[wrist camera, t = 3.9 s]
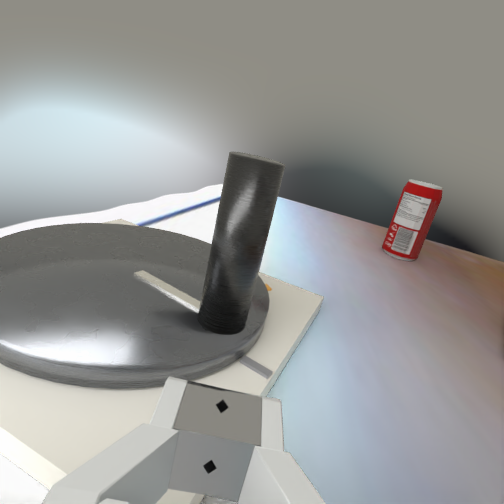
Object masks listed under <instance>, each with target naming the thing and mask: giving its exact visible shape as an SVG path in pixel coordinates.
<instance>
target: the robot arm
mask: <svg viewBox="0 0 504 504" xmlns="http://www.w3.org/2000/svg"><path fill="white" fill-rule="evenodd" d="M168 489H172V490H178V491H184V492H190V493H197V494H203V495H207V496H211V497H216V498H220V499H225V500H229V501H233V502H238V504H326V503H325V502H324V500H323V499H322V498H321V496H320V495H319V493H318V492H317V490H316V489H315V488H314V486H313V485H312V483H311V482H310V481H309V479H308V478H307V476H306V475H305V473H304V472H303V471H302V469H301V468H300V466H299V465H298V464H297V462H296V461H295V459H294V458H293V456H292V455H291V454H290V453H289V452H284V440H283V422H282V404H281V401H280V399H276V398H271V397H265V396H258V395H253V394H248V393H243V392H238V391H233V390H228V389H223V388H219V387H215V386H210V385H206V384H202V383H198V382H193V381H189V380H188V381H187V380H183V379H179V378H174V377H170V376H169V377H168V379H167V380H166V382H165V385H164V387H163V390H162V393H161V395H160V398H159V400H158V403H157V405H156V408H155V411H154V413H153V416H152V418H151V421H150V423H149V424H145V423H143V424H141V425H140V426H138V427H137V428H135V429H134V430H133V431H131V432H130V433H128V434H127V435H125V436H124V437H122V438H121V439H119V440H118V441H116V442H115V443H114V444H112V445H111V446H109V447H108V448H106V449H105V450H103V451H102V452H100V453H99V454H97V455H96V456H94V457H93V458H92V459H90V460H89V461H87V462H86V463H84V464H83V465H81V466H80V467H78V468H77V469H75V470H74V471H73V472H71V473H70V474H68V475H67V476H65V477H64V478H62V479H61V480H59V481H58V482H56V483H55V484H54V485H52V487H51V489H50V490H49V492H48V494H47V495H46V497H45V499H44V500H43V502H42V504H156V503H157V502H158V501H159V500H160V498H161V497H162V496H163V495H164V494H165V493H166V492H167V490H168Z"/></svg>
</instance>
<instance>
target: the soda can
mask: <svg viewBox="0 0 504 504" xmlns="http://www.w3.org/2000/svg"><path fill="white" fill-rule="evenodd" d="M442 189H443V188H442V187H439V186H436V185H433V184H429V183H425V182H421V181H416V180H411V179H410V180H409V181H408V183H407V184H406V186H405V187H404V189H403V191H402V194H401V197H400V199H399V202H398V205H397V207H396V210H395V213H394V216H393V219H392V221H391V224H390V227H389V229H388V232H387V235H386V237H385V240H384V243H383V246H382V248H383V249H384V252H385V253H387V254H388V255H390V256H392V257H395V258H398V259H401V260H405V261H413V260H414V259H417V258H418V255H419V253H420V250H421V248H422V245H423V243H424V240H425V238H426V235H427V233H428V231H429V228H430V226H431V223H432V221H433V218H434V216H435V213H436V211H437V209H438V206H439V204H440V201H441V198H442Z"/></svg>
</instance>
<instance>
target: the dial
mask: <svg viewBox="0 0 504 504" xmlns="http://www.w3.org/2000/svg"><path fill="white" fill-rule="evenodd" d="M284 168H285V164H283V163H281V162H278V161H275V160H272V159H268V158H264V157H260V156H255V155H251V154H246V153H240V152H230V153H229V158H228V163H227V168H226V173H225V178H224V184H223V189H222V194H221V199H220V204H219V209H218V214H217V220H216V225H215V230H214V235H213V240H212V244H209V243H207V242H204V241H201V240H198V239H195V238H192V237H189V236H185V235H182V234H178V233H174V232H170V231H165V230H160V229H155V228H149V227H142V226H134V225H124V224H109V223H78V224H63V225H53V226H46V227H40V228H34V229H30V230H25V231H21V232H17V233H14V234H11V235H7V236H4V237H2V238H0V363H1V364H2V365H4V366H6V367H9V368H11V369H14V370H16V371H19V372H22V373H24V374H27V375H29V376H33V377H37V378H41V379H44V380H48V381H52V382H56V383H62V384H69V385H75V386H82V387H93V388H109V389H125V388H146V387H155V386H163V385H165V382H166V380H167V379H168V377H169V376H170V377H174V378H179V379H183V380H187V381H188V380H193V379H196V378H199V377H202V376H205V375H208V374H211V373H213V372H215V371H218V370H220V369H222V368H224V367H226V366H228V365H230V364H232V363H233V362H235V361H236V360H238V359H239V358H241V357H242V356H244V355H245V354H246V353H247V352H248V351H249V350H250V349H251V348H252V347H253V346H254V345H255V343H256V342H257V340H258V339H259V338H260V335H261V333H262V331H263V328H264V325H265V321H266V317H267V313H268V310H269V302H270V300H269V293H268V290H267V288H266V285H265V284H264V282H263V281H262V279H261V278H260V276H259V275H258V273H259V269H260V265H261V261H262V257H263V253H264V249H265V245H266V241H267V237H268V233H269V229H270V225H271V221H272V217H273V213H274V209H275V205H276V201H277V197H278V192H279V188H280V185H281V180H282V176H283V172H284Z"/></svg>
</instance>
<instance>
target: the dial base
mask: <svg viewBox="0 0 504 504" xmlns="http://www.w3.org/2000/svg"><path fill="white" fill-rule="evenodd" d="M105 223H109V224H124V225H134V226H138V225H135V224H133V223H130V222H128V221H125V220H122V219H119V220H114V221H109V222H105ZM258 275H259V276H260V278H261V279H262V281H263V282H264V284H265V285H266V288H267V290H268V293H269V300H270V302H269V310H268V313H267V317H266V321H265V325H264V328H263V331H262V333H261V335H260V338H259V339H258V340H257V342H256V343H255V345H254V346H253V347H252V348H251V349H250V350H249V351H248V352H247V353H246V354H245V355H244V356H242V357H241V358H239V359H238V360H236V361H235V362H233V363H232V364H230V365H228V366H226V367H224V368H222V369H220V370H218V371H215V372H213V373H211V374H208V375H205V376H202V377H199V378H196V379H193V380H189V381H193V382H198V383H202V384H206V385H210V386H215V387H219V388H223V389H228V390H233V391H238V392H243V393H248V394H253V395H258V396H265V397H266V396H267V394H268V393H269V391H270V390H271V388H272V386H273V385H274V383H275V382H276V380H277V378H278V377H279V375H280V374H281V372H282V370H283V369H284V367H285V366H286V364H287V362H288V361H289V359H290V357H291V356H292V354H293V353H294V351H295V349H296V348H297V346H298V345H299V343H300V341H301V340H302V338H303V337H304V335H305V333H306V332H307V330H308V329H309V327H310V325H311V324H312V322H313V320H314V319H315V317H316V316H317V314H318V312H319V311H320V307H321V304H322V301H323V298H324V297H322V296H320V295H317V294H315V293H312V292H309V291H307V290H304V289H302V288H299V287H296V286H294V285H291V284H289V283H286V282H283V281H281V280H278V279H276V278H273V277H271V276H268V275H265V274H263V273H260V272H259V273H258ZM163 387H164V385H163V386H155V387H146V388H125V389H109V388H93V387H82V386H75V385H69V384H62V383H56V382H52V381H48V380H44V379H41V378H37V377H33V376H29V375H27V374H24V373H22V372H19V371H16V370H14V369H11V368H9V367H6V366H4V365H2V364H1V363H0V453H1V454H2V455H3V456H5V457H6V458H8V459H9V460H10V461H12V462H13V463H14V464H16V465H17V466H18V467H20V468H21V469H22V470H24V471H25V472H26V473H28V474H29V475H30V476H32V477H33V478H34V479H36V480H37V481H38V482H40V483H41V484H42V485H44V486H45V487H46V488H48V489H49V490H50V489H51V487H52V485H54V484H55V483H56V482H58V481H59V480H61V479H62V478H64V477H65V476H67V475H68V474H70V473H71V472H73V471H74V470H75V469H77V468H78V467H80V466H81V465H83V464H84V463H86V462H87V461H89V460H90V459H92V458H93V457H94V456H96V455H97V454H99V453H100V452H102V451H103V450H105V449H106V448H108V447H109V446H111V445H112V444H114V443H115V442H116V441H118V440H119V439H121V438H122V437H124V436H125V435H127V434H128V433H130V432H131V431H133V430H134V429H135V428H137V427H138V426H140V425H141V424H143V423H145V424H149V423H150V421H151V418H152V416H153V413H154V411H155V408H156V405H157V403H158V400H159V398H160V395H161V393H162V390H163ZM204 496H205V495H203V494H197V493H190V492H184V491H178V490H172V489H168V490H167V492H166V493H165V494H164V495H163V496H162V497H161V498H160V500H159V501H158V502H157V503H156V504H200V502H201V501H202V499H203V497H204Z"/></svg>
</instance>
